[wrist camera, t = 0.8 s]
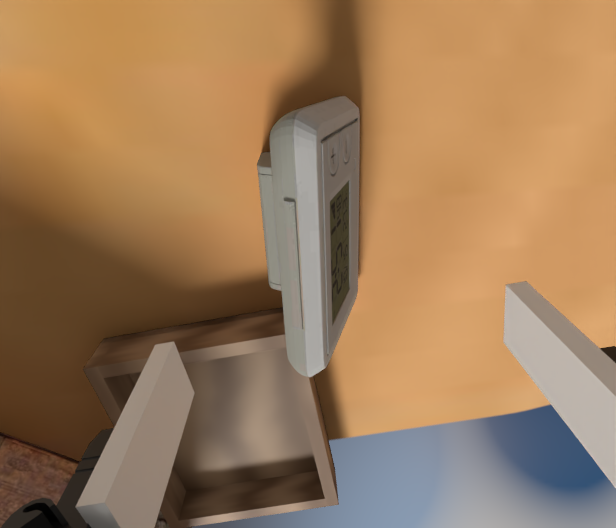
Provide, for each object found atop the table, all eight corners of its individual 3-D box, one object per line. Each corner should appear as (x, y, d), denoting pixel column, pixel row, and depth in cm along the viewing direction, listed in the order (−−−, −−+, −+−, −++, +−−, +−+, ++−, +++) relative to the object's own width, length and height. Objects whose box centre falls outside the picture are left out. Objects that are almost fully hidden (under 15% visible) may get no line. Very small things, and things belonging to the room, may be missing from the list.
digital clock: (350, 302, 35) (372, 390, 26) (246, 290, 34) (228, 376, 25) (397, 104, 28) (451, 123, 19) (268, 82, 27) (255, 90, 18)
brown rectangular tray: (297, 304, 35) (298, 332, 31) (334, 468, 44) (338, 504, 41) (103, 338, 36) (82, 369, 32) (180, 492, 45) (170, 529, 42)
